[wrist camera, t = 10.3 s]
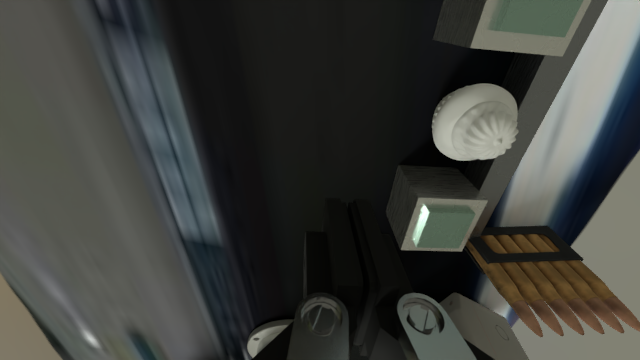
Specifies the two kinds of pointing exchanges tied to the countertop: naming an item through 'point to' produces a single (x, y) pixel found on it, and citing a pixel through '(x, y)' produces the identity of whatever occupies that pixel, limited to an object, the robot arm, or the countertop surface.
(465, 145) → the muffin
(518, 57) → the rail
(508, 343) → the electrical switch box
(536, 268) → the ammunition clip
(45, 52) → the countertop surface
